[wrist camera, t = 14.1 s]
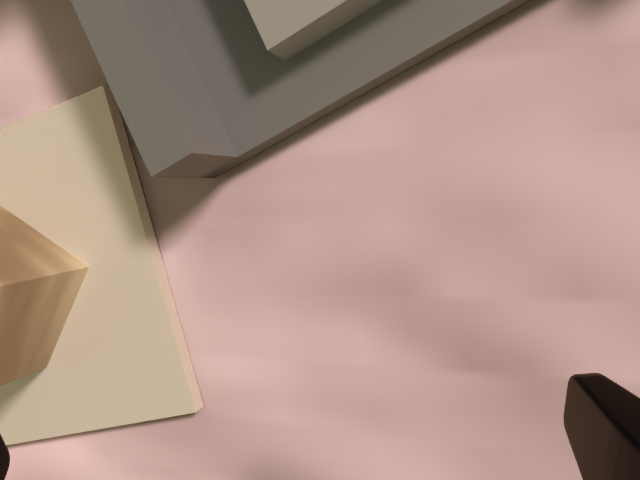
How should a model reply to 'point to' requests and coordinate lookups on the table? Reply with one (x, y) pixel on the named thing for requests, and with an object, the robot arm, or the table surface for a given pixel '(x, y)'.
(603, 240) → the table surface
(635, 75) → the table surface
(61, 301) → the block
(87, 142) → the tile
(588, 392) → the robot arm
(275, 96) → the grey walled tray
